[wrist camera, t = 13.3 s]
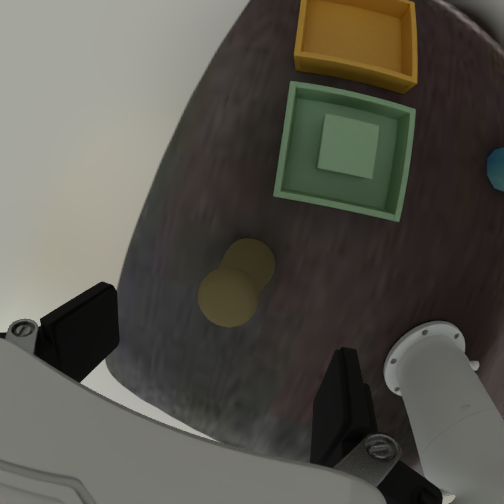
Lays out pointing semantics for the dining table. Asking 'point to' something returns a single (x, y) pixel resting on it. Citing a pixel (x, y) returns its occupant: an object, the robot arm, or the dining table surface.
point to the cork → (237, 283)
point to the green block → (347, 146)
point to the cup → (496, 168)
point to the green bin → (334, 184)
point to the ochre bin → (359, 41)
